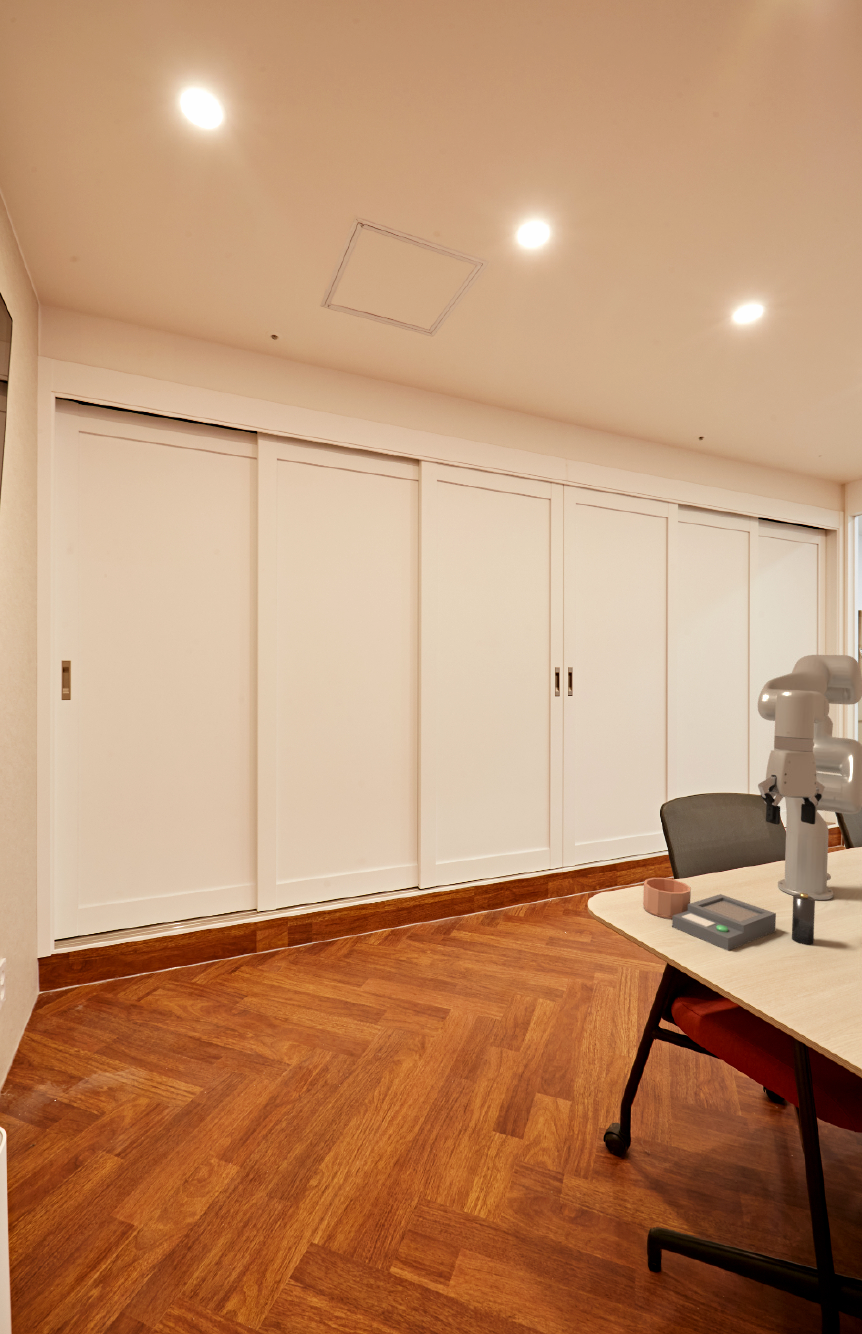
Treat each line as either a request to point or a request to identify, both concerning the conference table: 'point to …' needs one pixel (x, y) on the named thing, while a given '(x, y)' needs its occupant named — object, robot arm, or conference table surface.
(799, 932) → the battery
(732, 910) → the pad
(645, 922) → the conference table surface
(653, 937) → the conference table surface
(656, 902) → the cup
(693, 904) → the grey button console
